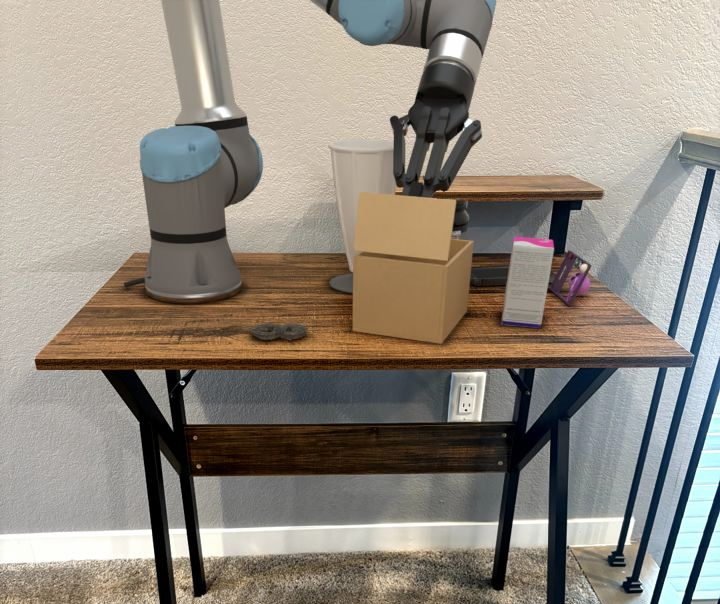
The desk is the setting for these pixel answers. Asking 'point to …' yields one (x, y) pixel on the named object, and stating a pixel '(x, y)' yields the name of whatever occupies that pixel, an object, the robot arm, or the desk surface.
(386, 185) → the cup
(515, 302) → the supplement box
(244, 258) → the desk surface
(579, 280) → the purple monster toy box
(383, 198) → the flap
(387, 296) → the carton
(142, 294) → the desk surface
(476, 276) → the phone
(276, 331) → the corroded twin loop
